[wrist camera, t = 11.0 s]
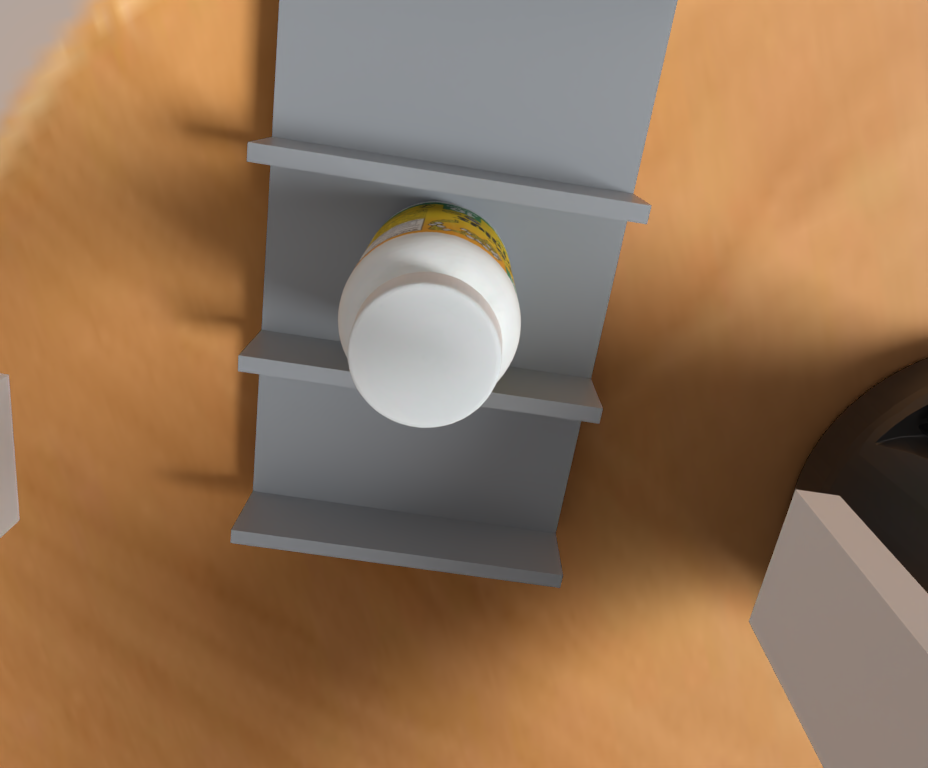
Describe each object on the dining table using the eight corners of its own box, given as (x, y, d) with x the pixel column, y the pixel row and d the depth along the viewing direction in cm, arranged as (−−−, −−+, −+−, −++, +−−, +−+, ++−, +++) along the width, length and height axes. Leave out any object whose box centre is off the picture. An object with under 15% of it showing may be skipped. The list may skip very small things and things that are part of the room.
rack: (675, -26, 25) (711, -48, 21) (550, 529, 33) (560, 587, 29) (293, -91, 25) (258, -125, 21) (259, 489, 33) (230, 543, 29)
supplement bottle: (339, 245, 28) (275, 319, 19) (464, 170, 27) (459, 210, 18) (416, 364, 29) (390, 484, 20) (536, 297, 28) (565, 393, 19)
